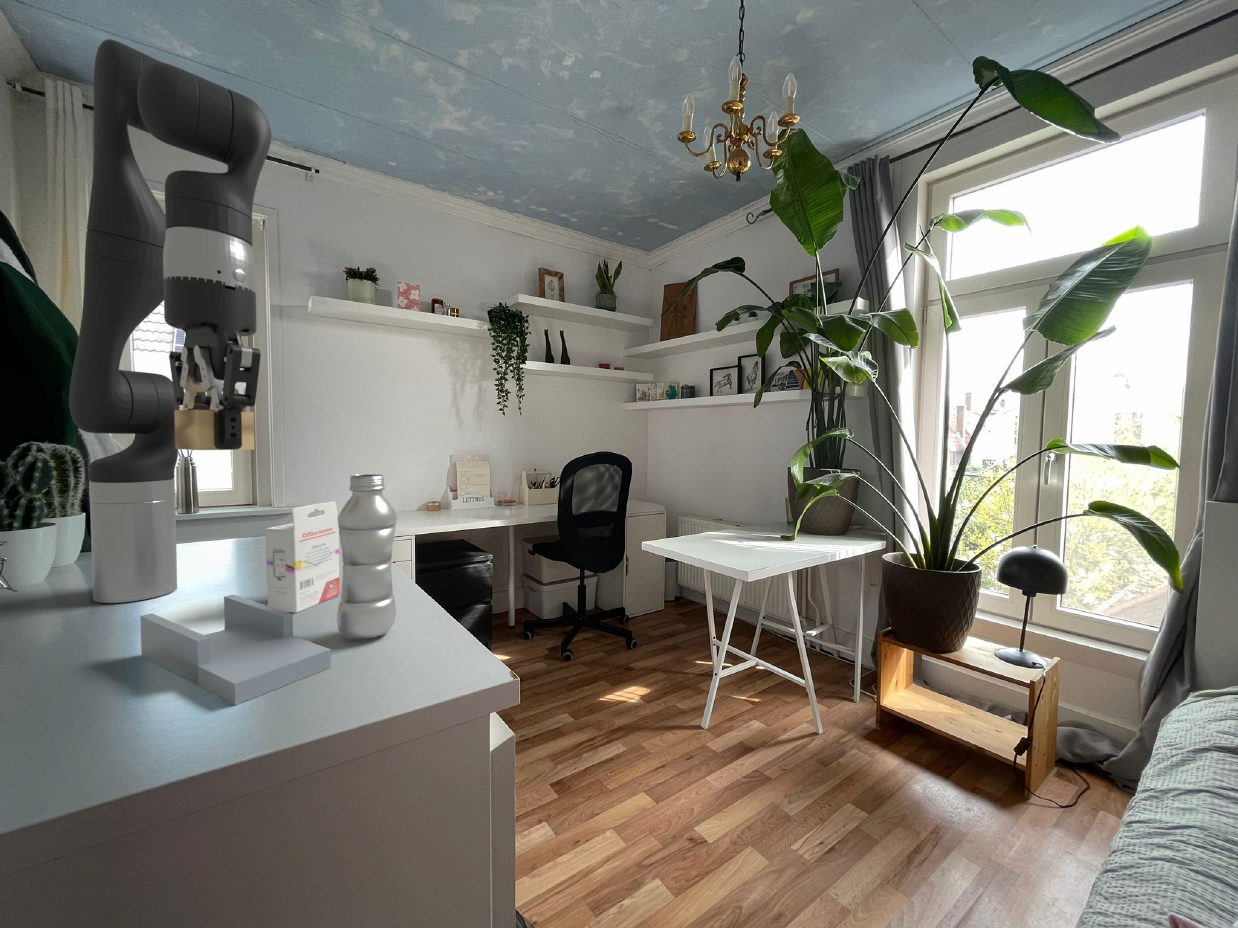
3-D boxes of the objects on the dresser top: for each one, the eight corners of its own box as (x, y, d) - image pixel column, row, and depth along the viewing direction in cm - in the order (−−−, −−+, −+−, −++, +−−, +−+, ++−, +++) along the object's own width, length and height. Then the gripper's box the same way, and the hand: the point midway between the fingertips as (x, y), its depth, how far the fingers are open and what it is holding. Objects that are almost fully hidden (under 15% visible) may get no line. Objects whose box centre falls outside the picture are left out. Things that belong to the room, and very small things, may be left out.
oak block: (175, 448, 53) (174, 410, 53) (230, 448, 58) (229, 412, 57) (198, 450, 51) (197, 409, 51) (254, 449, 55) (253, 412, 55)
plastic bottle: (328, 635, 64) (327, 474, 62) (384, 621, 69) (383, 472, 67) (348, 651, 59) (347, 478, 58) (405, 635, 64) (406, 476, 63)
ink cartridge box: (312, 592, 80) (312, 498, 79) (340, 595, 79) (340, 500, 78) (264, 610, 72) (263, 506, 71) (295, 614, 71) (294, 508, 70)
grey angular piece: (141, 655, 57) (140, 615, 56) (233, 629, 65) (233, 594, 64) (235, 705, 47) (234, 657, 47) (330, 667, 55) (330, 626, 55)
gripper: (134, 282, 53) (139, 446, 54) (202, 264, 47) (206, 451, 48) (218, 300, 60) (221, 445, 61) (288, 286, 53) (290, 450, 54)
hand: (214, 447), depth 54 cm, fingers closed on oak block, 5 cm apart
